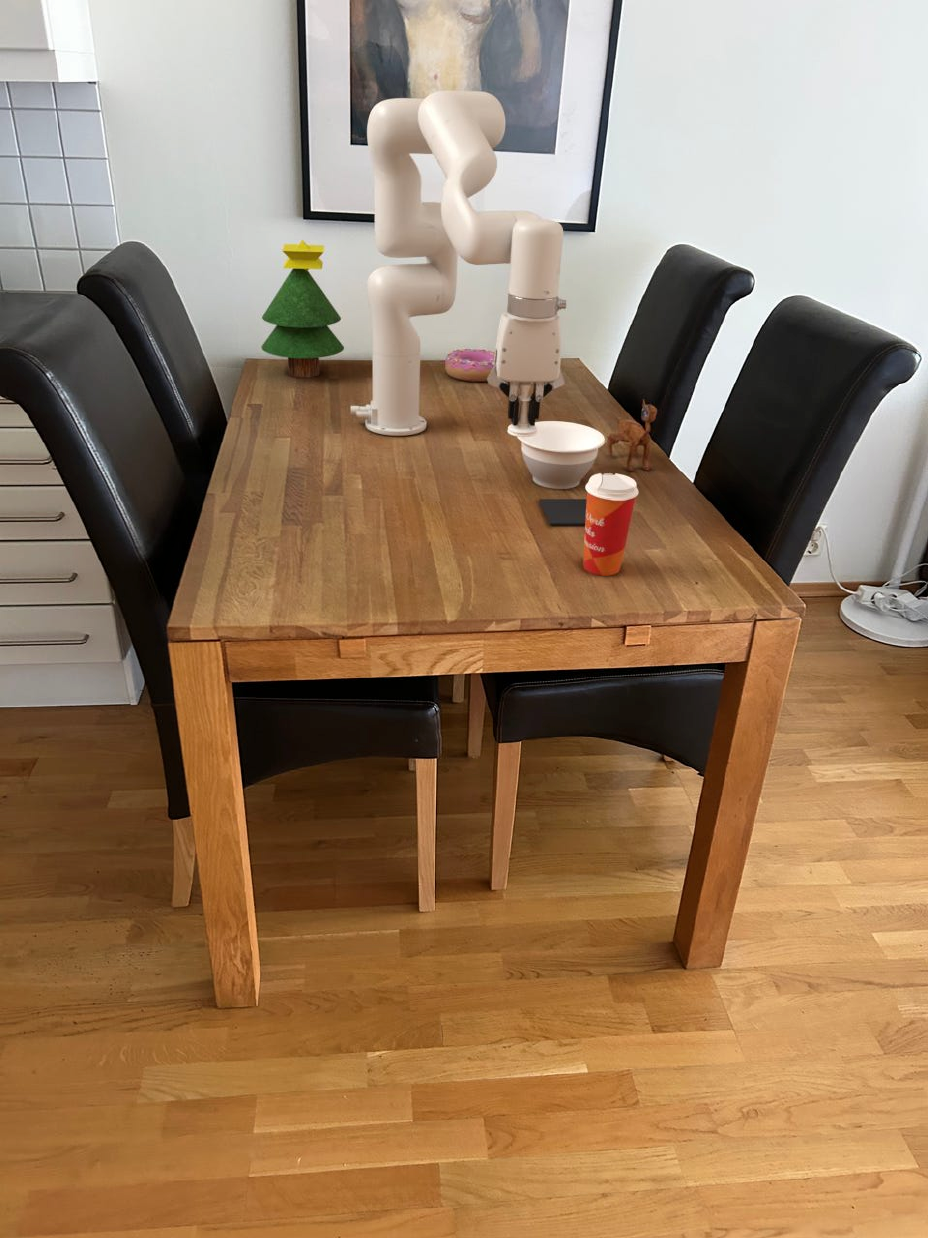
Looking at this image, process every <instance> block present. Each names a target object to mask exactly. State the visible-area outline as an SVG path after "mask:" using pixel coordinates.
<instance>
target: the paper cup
mask: <svg viewBox="0 0 928 1238" xmlns="http://www.w3.org/2000/svg"><path fill="white" fill-rule="evenodd" d="M637 486H638V484H637V481H636V480H635V479H634V478H632V477H630V476H628V475H626V474H621V473H616V472H615V474H613V472H612V473H611V472H609V473H608V472H607V473H603V474H602V473H601V472H599V473H595V474H592V475H591V476H590V478H589V479H588V482H587V483H586V484H585V490H586V499H587V503H586V520H585V526H584V537H583V539H584V540H583V556H582V557H583V559H582V560H583V562H582V563H583V565H582V566H583V569H584V570H585V571H586V572H588V573H589V574H593V575H595V576H601V577H603V576H604V577H610V576H614V575H617V574H618V573H619V572H620V570H621V567H622V562H623V558H624V554H625V548H626V544H627V540H628V535H629V530H630V526H631V525H630V524H631V521H632V517H633V511H634V506H635V501H636V498H637V496H638V495H639V489H638V487H637Z"/></svg>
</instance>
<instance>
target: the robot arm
mask: <svg viewBox="0 0 928 1238" xmlns="http://www.w3.org/2000/svg"><path fill="white" fill-rule="evenodd" d="M504 111H505V110H504V108H503V106H502V104H501V102H500V101H499V100H498V99H497V97H496V96H494V94H492V93H489V92H487V91H475V90H455V89H454V90H453V89H451V90H450V89H448V90H447V89H445V90H438V91H435V92H432V93H430V94H429V95H428V96H426V97H425V98H418V97H417V98H416V97H415V98H414V97H413V98H412V97H411V98H410V97H396V98H388V99H384V100H381V101H379V102H378V103H376V104H375V105H374V106H373V108H372V109H371V111H370V114H369V117H368V119H367V127H366V139H367V146H368V151H369V156H370V160H371V165H372V169H373V173H374V175H373V176H374V237H375V238H374V239H375V245H376V248H377V251H378V252H379V253H380V254H381V255H383V257H388V258H393V259H394V258H395V259H406V258H407V259H408V258H425V261H426V262H425V263H404V264H403V263H402V264H390V265H384V266H380V267H379V268H377V269H375V270H373V271H372V273H370V275H369V277H368V279H367V283H366V294H367V302H368V307H369V313H370V321H371V339H372V340H371V342H372V343H371V348H372V350H371V352H372V356H371V357H372V400H370V404H365V406H360V405H350V416H356V419H365V420H364V425H365V428H366V429H367V430H368V431H370V432H372V433H375V434H377V435H382V436H389V437H390V436H391V437H405V436H413V435H417V434H419V433H422V432H423V431H425V430H426V428H427V420H426V419H425V418H424V417H422V416H421V415H420V392H421V391H420V390H421V389H420V388H421V387H420V385H421V339H420V335H419V333H418V332H417V330H416V328H415V327H414V325H413V324H412V323H411V321H410V320H411V319H410V318H413V317H420V316H421V317H422V316H434V315H440V314H444V313H445V314H446V313H447V312H448V311H450V310H451V309H452V307H453V305H454V303H455V300H456V294H457V281H458V280H457V279H458V260H459V259H458V256H459V257H460V258H461V259H462V260H463V261H465V263H467V264H470V265H474V266H487V265H503V264H504V265H505V264H506V265H509V277H508V278H509V279H508V293H507V306H506V308H507V309H506V311H504V312H502V313H501V315H500V319H499V322H498V323H499V324H498V328H497V334H496V340H495V349H494V352H495V357H494V366H493V368H492V370H491V372H490V374H489V376H488V378H487V381H486V382H487V384H488V385H489V386H491V387H494V388H495V389H498V390H500V391H501V392H502V393H503V394H504V395H505V396H506V397H507V399H508V403H507V419H509V420H510V421H511V422H510V423H511V424H513V426H516V425H518V418H519V412H520V400H518V397H519V396H518V387H519V383H520V382H530V383H532V393H531V395H530V396H529V397H531V400H530V401H528V406H527V411H528V421H529V423H530V425H531V426H535V422H536V420H539V419H540V409H541V402H542V401H543V399H544V398H545V397H546V396H547V395H548V394H549V393H551V391H553V390H556V389H558V388H561V387H563V386H564V385H566V382H565V378H564V375H563V373H562V370H561V359H562V355H561V354H562V329H561V319H560V318H561V317H560V316H559V314H558V312H559V311H561V310H565V309H566V308H567V299H562V298H560V297H559V296H558V295H559V285H560V275H561V264H562V253H563V243H564V241H563V240H564V229H563V226H562V225H561V223H560V222H558V221H556V220H553V219H547V218H542V217H541V216H540V215H538V214H536V213H534V212H532V211H529V210H488V211H487V210H486V211H476V210H475V209H474V207H473V206H472V204H471V202H470V200H469V198H471V197H473V196H474V195H476V194H478V193H479V192H481V191H482V190H483V189H484V188H486V187H487V186H488V185H489V184H490V183H491V182H492V180H493V178H494V176H495V175H496V172H497V168H498V160H497V159H498V158H497V156H496V153H495V151H494V150H493V149H494V148H496V147H497V146H498V145H499V144H500V143H501V142H502V140H503V138H504V135H505V131H506V115H505V112H504ZM411 154H412V155H413V154H418V155H433V157H434V158H435V161H436V162H437V164H438V166H439V169H441V171H442V174H443V175H444V177H445V179H446V181H445V183H444V185H443V188H442V191H441V197H440V202H438V201H427V202H426V201H425V202H422V175H421V173H420V170H419V167H418V166H417V164H416V162H415V160H414V158H413V157H412V156H411Z"/></svg>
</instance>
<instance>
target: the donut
mask: <svg viewBox="0 0 928 1238" xmlns="http://www.w3.org/2000/svg"><path fill="white" fill-rule="evenodd" d="M494 357H495V351H491V350H485V349H477V348H474V349H471V348H464V349H456V350H453V351H451V352H449V353H447V354H446V358H445V361H444V362H445V363H444V367H445V368H444V369H445V372H446V374H447V375H448V376H450V377H451V378H453V379H456V380H458V381H459V380H460V381H464V382H473V383H475V382H476V383H480V382H481V383H482V382H484V383H485V382H487V378H488V376H489V374H490V372H491V370H492V368H493V366H494Z"/></svg>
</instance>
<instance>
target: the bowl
mask: <svg viewBox="0 0 928 1238" xmlns="http://www.w3.org/2000/svg"><path fill="white" fill-rule="evenodd" d="M535 426H536V427H537V434H536V435H534V436H531V437H517V436H516V438H517V439H518V440H519V441H520V442H521V445H520V448H521V454H522V458H523V462H524V464H525V466H526V467H527V470H528V471H529V472H530V474H531V476H532V481H533V482H534V483H535V484H536V485H538V486H541V487H544V488H548V489H554V490H567V489H573V488H576V487H577V486H579V485H580V483H581V480H582V479H583V478H584V477H585V476H586V474H588V473H589V472H590V470H591V469H592V467H593V465H594V464H595V462H596V460H597V459H596V458H597V457H598V452H599V448H601V447H602V446H604V445H605V444H606V439H605V436H604V434H603V433H602V432H600V431H599V430H597V429H595V428H593V427H590V426H588V425H584V424H581V423H576V422H569V421H561V420H559V421H558V420H544V421H535Z"/></svg>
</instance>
